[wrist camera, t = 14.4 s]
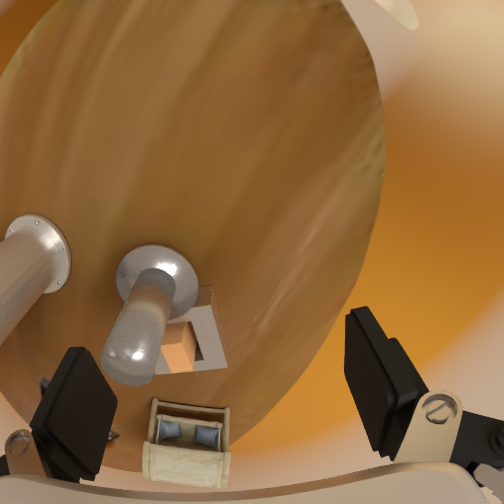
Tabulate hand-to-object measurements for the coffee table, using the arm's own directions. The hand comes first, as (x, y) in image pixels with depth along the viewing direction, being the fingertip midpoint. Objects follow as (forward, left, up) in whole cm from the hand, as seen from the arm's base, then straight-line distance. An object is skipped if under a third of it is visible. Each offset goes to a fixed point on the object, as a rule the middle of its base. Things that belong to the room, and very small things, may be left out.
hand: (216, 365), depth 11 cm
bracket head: (-10, -14, -30) cm, 35 cm away
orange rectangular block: (-10, -19, -30) cm, 37 cm away
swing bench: (-16, -42, -31) cm, 54 cm away
